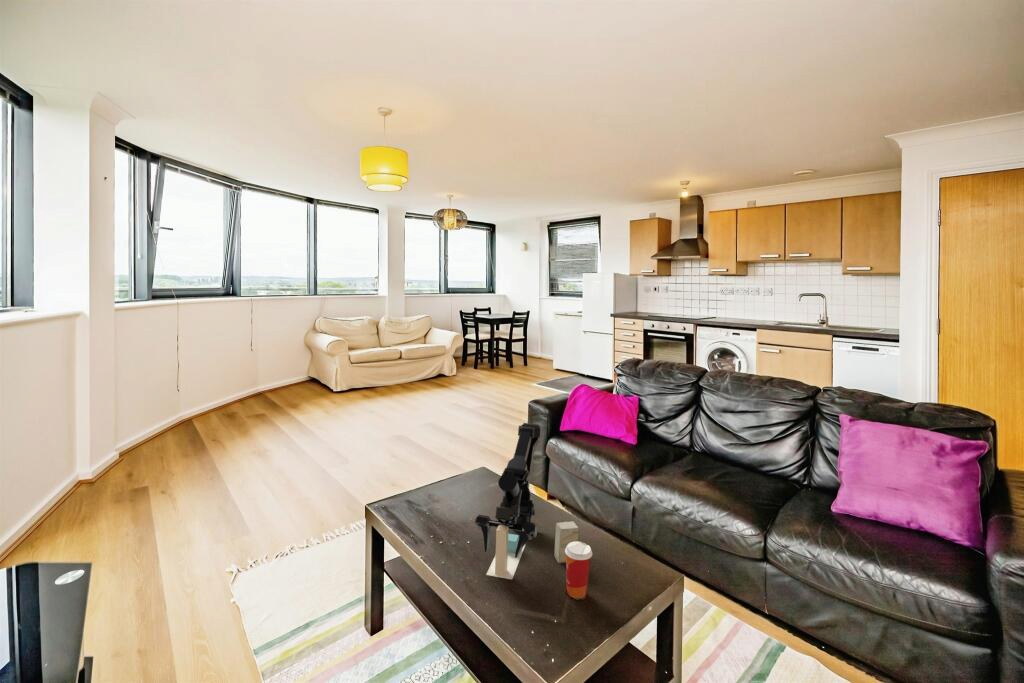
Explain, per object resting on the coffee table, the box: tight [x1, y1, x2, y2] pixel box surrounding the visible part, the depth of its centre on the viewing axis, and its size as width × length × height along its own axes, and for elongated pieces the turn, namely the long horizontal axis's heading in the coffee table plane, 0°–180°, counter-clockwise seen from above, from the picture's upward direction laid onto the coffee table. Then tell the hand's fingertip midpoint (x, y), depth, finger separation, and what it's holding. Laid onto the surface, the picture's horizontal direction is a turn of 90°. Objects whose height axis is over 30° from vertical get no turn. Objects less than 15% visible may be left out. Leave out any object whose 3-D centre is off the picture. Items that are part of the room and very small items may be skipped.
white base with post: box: [485, 525, 527, 580], centre depth 147 cm, size 20×8×15 cm, turn 167°
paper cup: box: [565, 541, 593, 598], centre depth 133 cm, size 8×8×14 cm
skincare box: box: [553, 520, 579, 564], centre depth 149 cm, size 6×4×12 cm
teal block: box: [508, 533, 520, 553], centre depth 153 cm, size 4×4×4 cm
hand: (500, 555), depth 139 cm, fingers open, 9 cm apart
